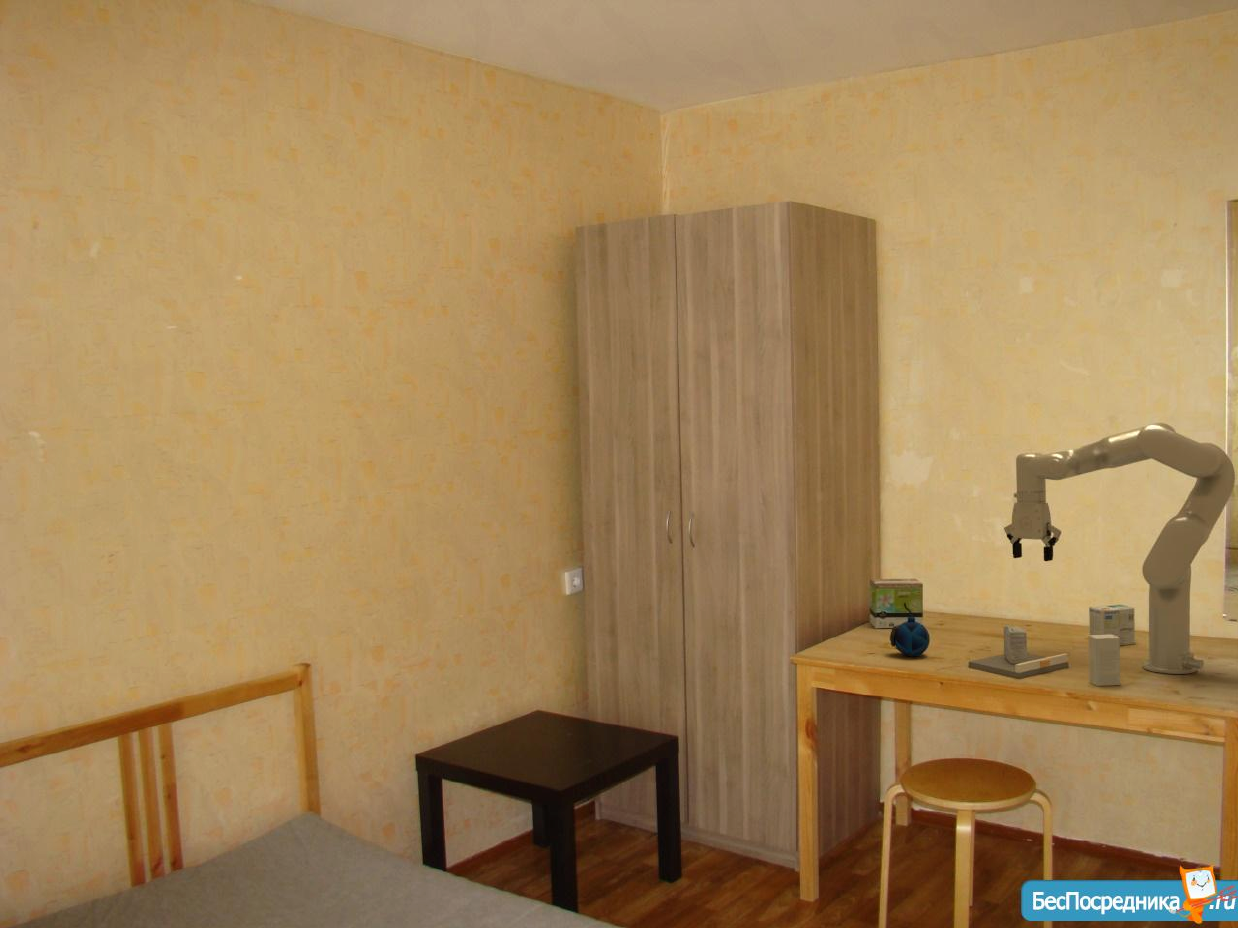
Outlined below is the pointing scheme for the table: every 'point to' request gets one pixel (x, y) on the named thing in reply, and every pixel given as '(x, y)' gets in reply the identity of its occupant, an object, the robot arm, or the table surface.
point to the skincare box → (1104, 660)
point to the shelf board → (1021, 665)
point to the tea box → (895, 601)
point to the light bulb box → (1113, 622)
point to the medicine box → (1015, 644)
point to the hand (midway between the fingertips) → (1032, 559)
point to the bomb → (910, 637)
